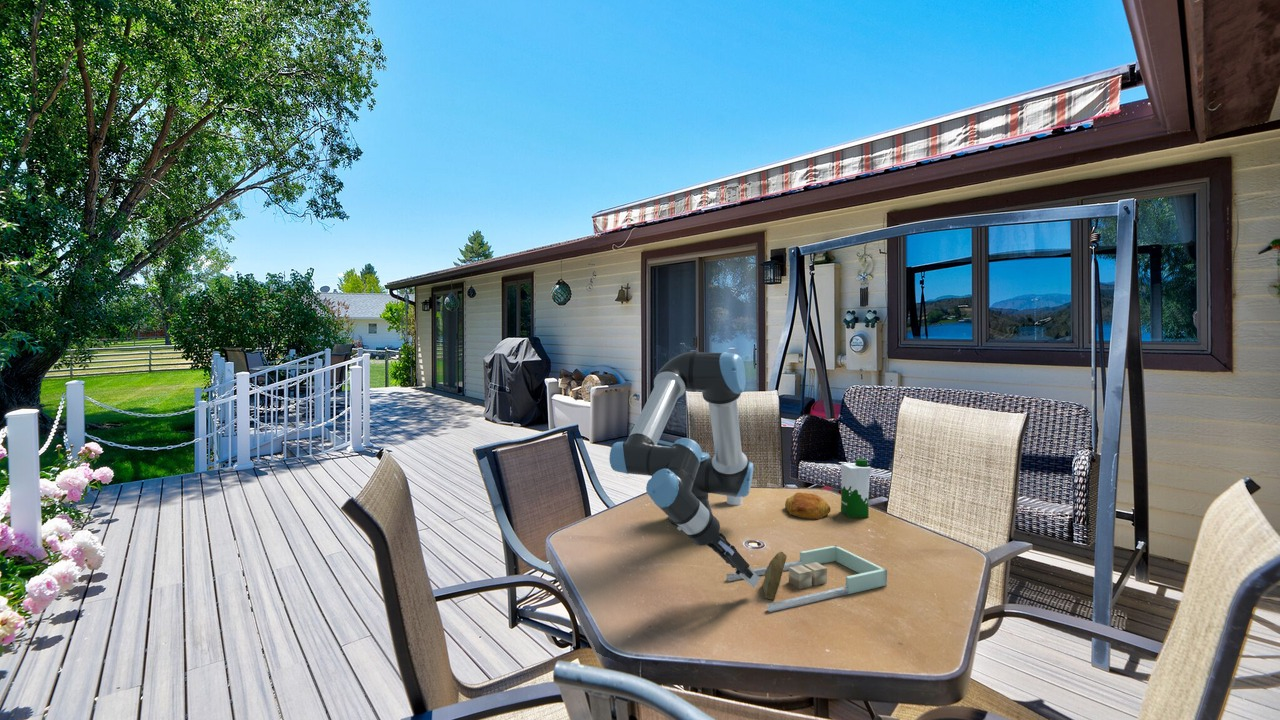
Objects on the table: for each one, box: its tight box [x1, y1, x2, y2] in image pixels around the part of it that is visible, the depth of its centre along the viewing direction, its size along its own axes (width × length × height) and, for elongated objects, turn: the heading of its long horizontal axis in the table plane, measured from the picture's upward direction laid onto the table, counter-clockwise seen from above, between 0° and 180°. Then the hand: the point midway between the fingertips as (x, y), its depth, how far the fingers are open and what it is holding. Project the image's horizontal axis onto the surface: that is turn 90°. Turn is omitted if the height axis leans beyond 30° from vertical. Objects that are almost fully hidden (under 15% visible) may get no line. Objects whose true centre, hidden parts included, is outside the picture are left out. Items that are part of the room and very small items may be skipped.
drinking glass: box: [726, 495, 743, 506], centre depth 209 cm, size 7×7×10 cm
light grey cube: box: [788, 565, 813, 590], centre depth 140 cm, size 4×4×4 cm
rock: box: [761, 551, 788, 601], centre depth 136 cm, size 10×8×10 cm
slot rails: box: [726, 560, 849, 613], centre depth 138 cm, size 24×18×2 cm
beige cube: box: [804, 562, 828, 586], centre depth 142 cm, size 4×4×4 cm
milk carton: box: [840, 458, 872, 519], centre depth 197 cm, size 9×9×20 cm
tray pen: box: [799, 545, 888, 595], centre depth 146 cm, size 13×18×4 cm
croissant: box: [784, 492, 831, 520], centre depth 198 cm, size 15×16×8 cm
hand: (755, 582), depth 133 cm, fingers closed
